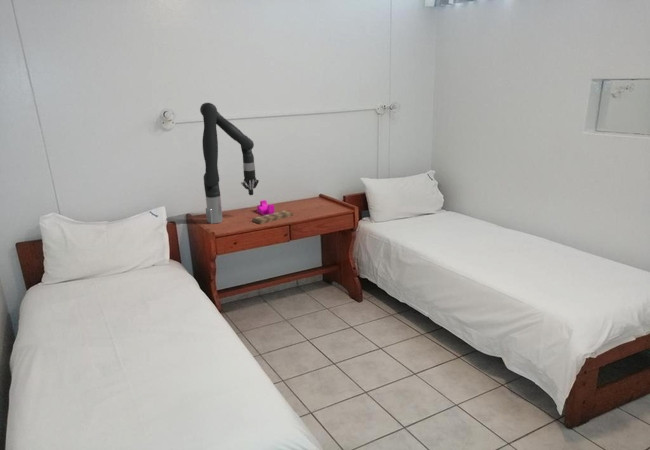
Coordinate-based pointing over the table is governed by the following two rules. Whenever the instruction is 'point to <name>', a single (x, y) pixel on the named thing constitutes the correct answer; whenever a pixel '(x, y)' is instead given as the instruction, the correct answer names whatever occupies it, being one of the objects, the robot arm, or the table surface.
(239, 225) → the table surface
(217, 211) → the robot arm
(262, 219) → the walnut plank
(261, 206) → the toy block
